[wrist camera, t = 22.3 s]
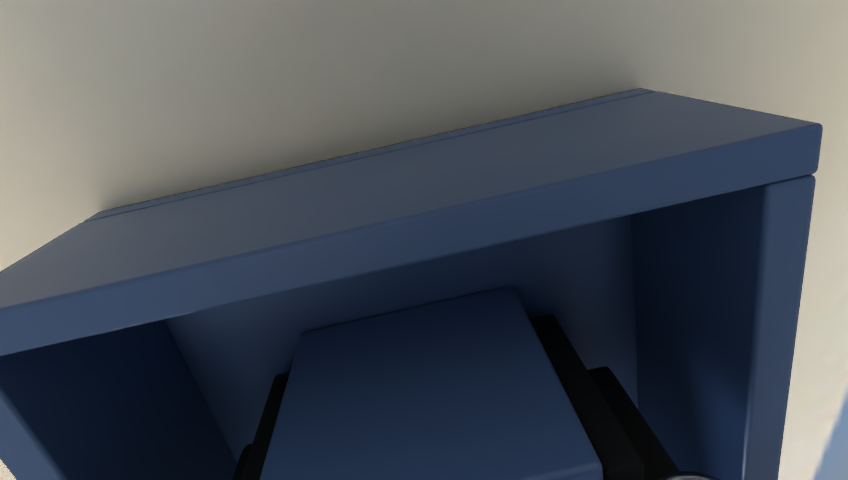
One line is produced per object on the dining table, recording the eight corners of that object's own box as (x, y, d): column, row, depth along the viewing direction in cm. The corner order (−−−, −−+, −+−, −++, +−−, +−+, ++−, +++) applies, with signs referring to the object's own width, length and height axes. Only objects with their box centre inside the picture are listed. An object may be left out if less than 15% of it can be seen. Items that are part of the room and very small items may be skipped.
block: (299, 331, 10) (237, 545, 6) (512, 283, 10) (605, 465, 6) (357, 480, 12) (341, 725, 8) (536, 441, 12) (620, 666, 7)
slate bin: (97, 211, 9) (-104, 333, 5) (642, 86, 9) (826, 122, 5) (279, 558, 13) (238, 762, 10) (651, 478, 13) (756, 653, 9)
